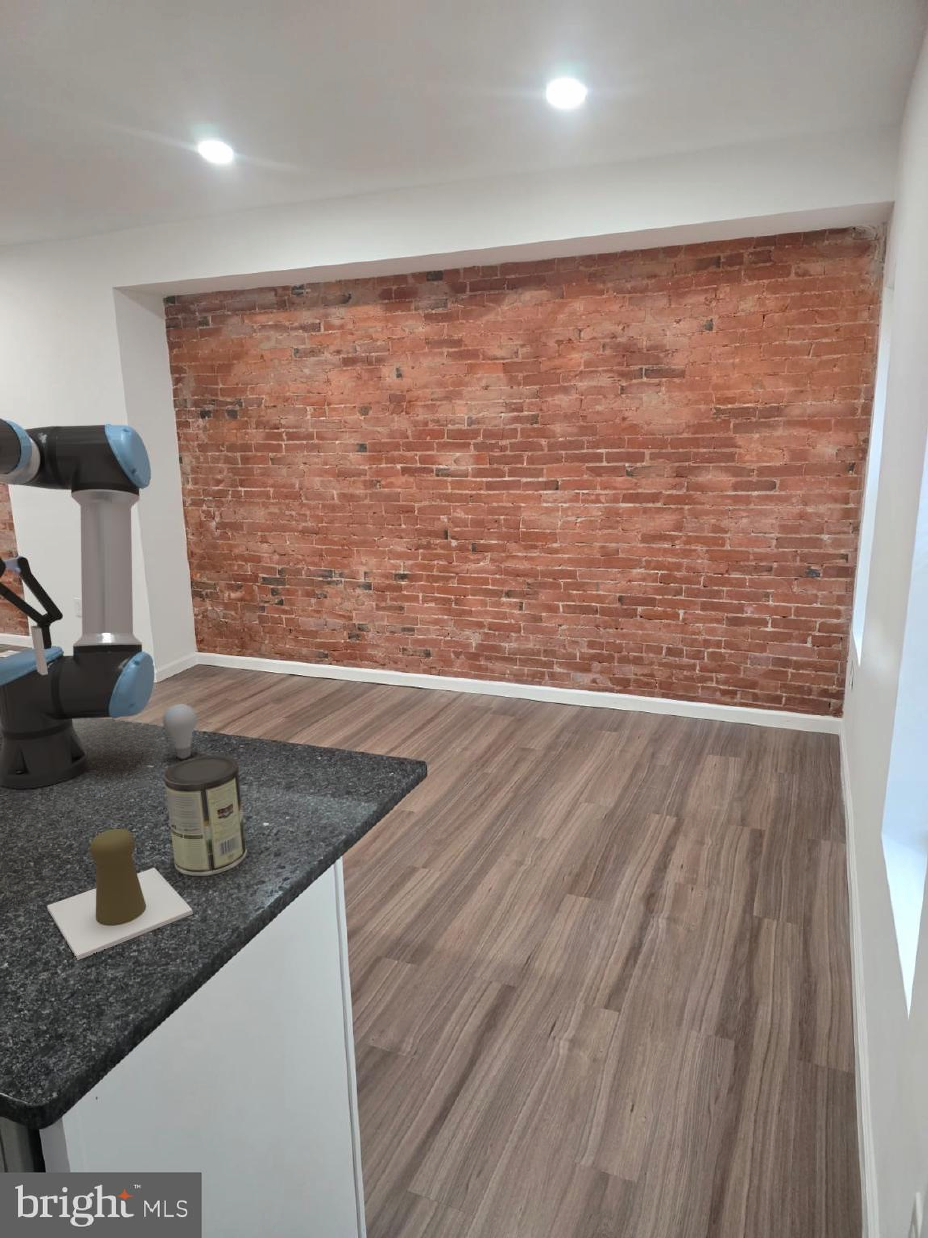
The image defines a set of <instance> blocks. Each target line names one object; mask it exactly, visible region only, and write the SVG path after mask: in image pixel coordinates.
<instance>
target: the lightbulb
mask: <svg viewBox="0 0 928 1238" xmlns="http://www.w3.org/2000/svg"><path fill="white" fill-rule="evenodd" d="M197 721H198V717H197V713H196V711H195V710H194V708H192V707H191V706H190V705H187V704H184V703H177V704H173V705H172V706H170V707H169V708H167V710H166V711H165V712H164V713H163V718H162V724H163V727H164V728H165V731H166V732H167V733H168V734H169V735H170V737H171V739H172V741H173V745H174V748H175V750H176V756H177V758H179V759H181V760H187V759H188V758H189V757H190V756H191V755H192V754H191V751H192V749H191V746H192V736H193V732H194V730H195V729H196V725H197Z"/></svg>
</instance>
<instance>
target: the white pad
mask: <svg viewBox="0 0 928 1238" xmlns="http://www.w3.org/2000/svg"><path fill="white" fill-rule="evenodd" d="M137 876H138V879H139V883H140V886H141V890H142V893H143V896H144V900H145V903H146V909H145V911H144V912H143V914H142V915H140V916H139V917H138V918H136V919H134V920H132V921H130V922H128V923H125V924H121V925H115V926H106V925H102V924H100V923H98V922H97V920H96V887H95V888H92V889H90V890H87V891H85V892H82V893H79V894H76V895H73V896H70V897H68V898H65V899H62V900H59V901H56V902H54V903H50V904H48V905H47V911H48V912H49V914H50V916H51V917H52V919H53V921H54V923H55V925H56V926H57V928H58V929H59V931H60V933H61V934H62V936H63V938H64V940H65V942H66V941H67V942H66V944H67V945H68V946H69V948H70V950H71V951H72V953H74V954H73V955H74V957H75V956H76V957H75V959H76V958H77V959H76V960H77V961H80V960H81V959H85V958H87V957H90V956H92V955H94V954H93V953H95V954H97V953H99V952H102V951H105V950H107V949H109V948H112V947H114V946H116V945H120V944H122V943H124V942H126V941H130V940H133V939H135V938H137V937H139V936H141V935H144V934H146V933H149V932H152V931H154V930H156V929H158V928H161V927H164V926H167V925H169V924H172V923H174V922H176V921H177V922H178V921H179V920H182V919H185V918H187V917H189V916H191V915H193V914H194V913H193V908H191V907H190V905H189V904H188V903H187V902H186V901H185V900H184V899H183V897H181V896H180V894H179V893H178V892H177V891H176V890H175V889H174V887H173V886H172V885H171V884H170V883H169V882H168V881H167V880H166V879H165V878H164V876H163V875H162V874H161V873H160V872H159V871H158V870H157V868H155V867H152V868H149V869H147V870H144V871H141V872H137ZM104 949H105V950H104ZM96 952H97V953H96Z"/></svg>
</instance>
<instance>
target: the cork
mask: <svg viewBox="0 0 928 1238" xmlns="http://www.w3.org/2000/svg"><path fill="white" fill-rule="evenodd" d="M135 846H136V841H135V839H134V836H133V834H132V833H131V832H130V831H128V830H127V829H123V828H114V829H113V828H112V829H108V830H104V831H102V832H100V833H99V834H97V835H95V837H94V838H92V841H91V843H90V845H89V852H90V853H89V854H90V856H91V859H92V860H93V862H95V863H96V872H95V873H96V877H95V880H96V881H95V882H96V883H95V888H96V920H97V922H98V923H100V924H102V925H106V926H115V925H121V924H125V923H128V922H130V921H132V920H134V919H136V918H138V917H139V916H140V915H142V914H143V912H144V911H145V909H146V903H145V900H144V896H143V893H142V890H141V886H140V883H139V879H138V876H137V874H138V872H137V868H136V866H135V862H134V859H133V854H134V851H135Z"/></svg>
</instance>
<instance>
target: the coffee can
mask: <svg viewBox="0 0 928 1238" xmlns="http://www.w3.org/2000/svg"><path fill="white" fill-rule="evenodd" d="M239 771H240V766H239V762H238V761H237V760H236V759H235V758H233V757H231V756H227V755H226V756H225V755H219V754H218V755H217V754H216V755H215V754H212V755H201V756H194V757H191V758H186V759H183V760H181V761H178V762H176V763H174V764H172V765H170V766H169V767H167V769H166V770H165V771H164V772H163V775H162V777H163V781H164V784H165V792H166V800H167V801H166V802H167V808H168V809H167V810H168V811H167V812H168V818H169V825H170V826H169V827H170V835H171V841H172V848H173V851H172V852H173V858H174V859H173V860H174V868H175V869H176V870H177V871H178V872H179V873H181V874H182V875H187V876H192V877H207V876H213V875H218V874H220V873H224V872H227V871H229V870H232V869H233V868H236V866H238V865H239V864H240V863H242V862H243V861H244V860H245V858H246V857H247V852H248V850H247V847H246V846H247V845H246V837H245V828H244V815H243V806H242V796H241V787H240V785H241V783H240V776H239Z"/></svg>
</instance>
